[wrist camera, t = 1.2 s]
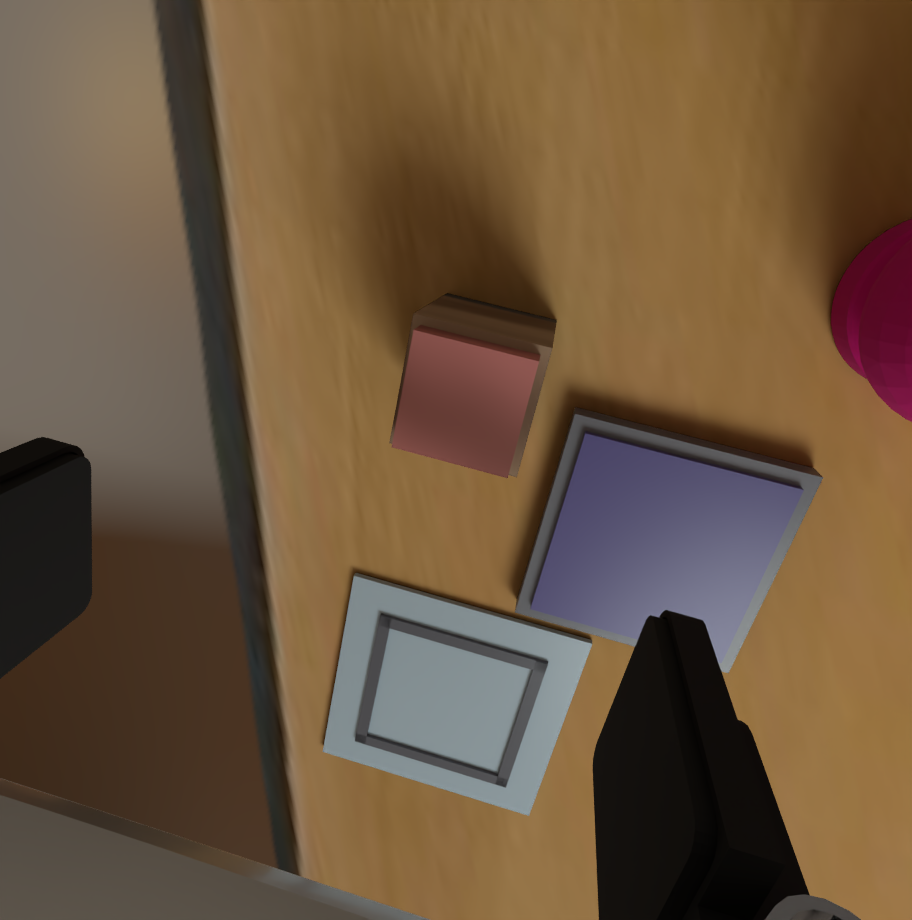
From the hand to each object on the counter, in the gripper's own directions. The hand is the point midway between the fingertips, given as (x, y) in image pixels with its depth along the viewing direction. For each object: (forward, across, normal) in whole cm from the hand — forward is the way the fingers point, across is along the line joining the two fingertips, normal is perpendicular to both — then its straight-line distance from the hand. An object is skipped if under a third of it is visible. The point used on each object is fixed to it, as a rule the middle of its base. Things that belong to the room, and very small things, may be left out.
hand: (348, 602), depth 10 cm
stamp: (+18, 0, 0) cm, 18 cm away
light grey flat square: (+18, -2, +18) cm, 25 cm away
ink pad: (+18, -9, +6) cm, 21 cm away
